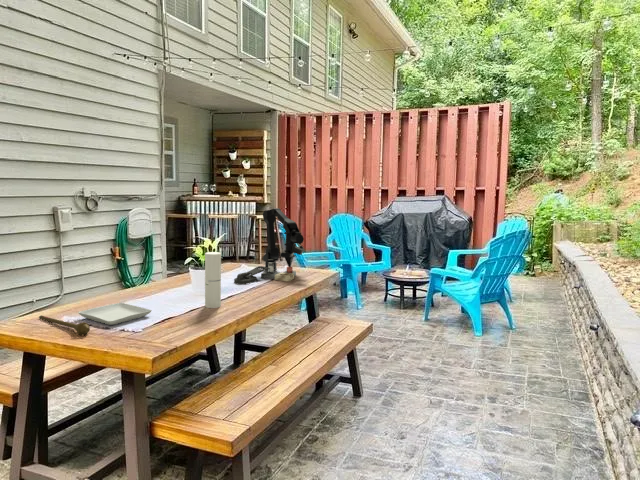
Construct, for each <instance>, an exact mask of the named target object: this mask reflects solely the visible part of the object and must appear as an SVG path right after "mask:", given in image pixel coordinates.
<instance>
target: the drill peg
mask: <svg viewBox="0 0 640 480" xmlns="http://www.w3.org/2000/svg"><path fill="white" fill-rule="evenodd" d="M268 268H269V269H268V270H267V271H268V273H269V274H273V272H275V270H274V263H273V262H268Z"/></svg>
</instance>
